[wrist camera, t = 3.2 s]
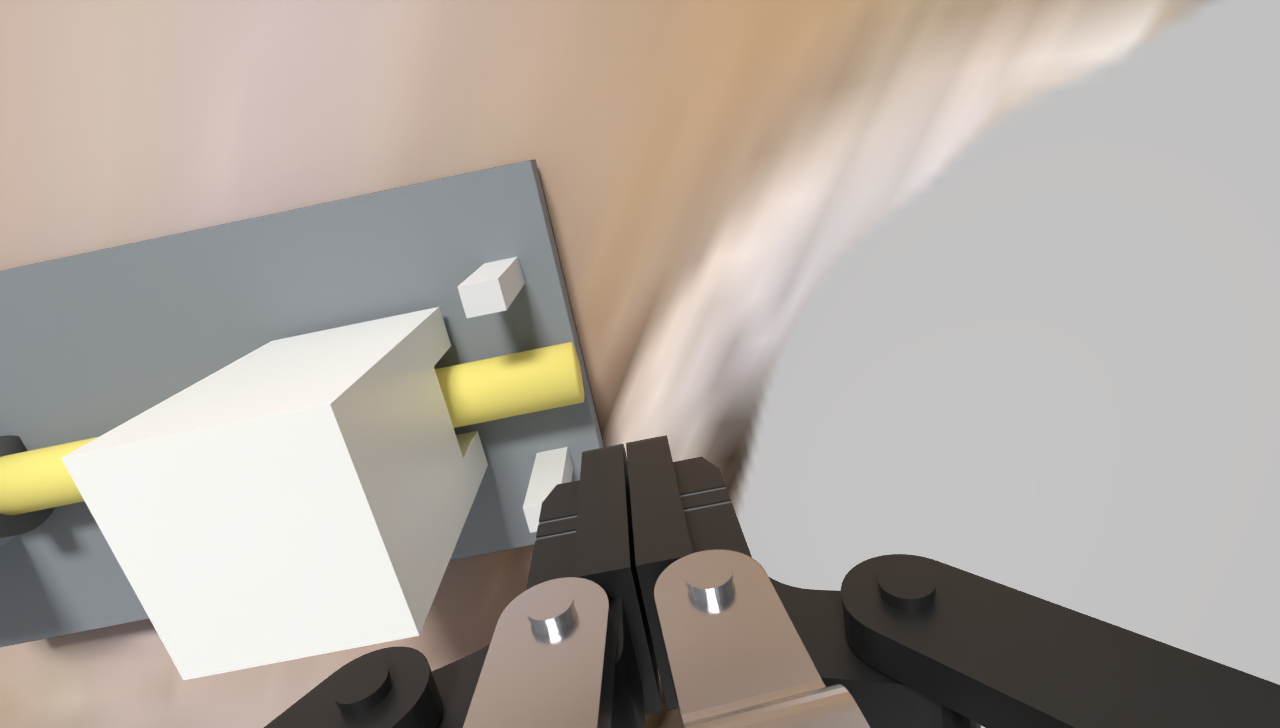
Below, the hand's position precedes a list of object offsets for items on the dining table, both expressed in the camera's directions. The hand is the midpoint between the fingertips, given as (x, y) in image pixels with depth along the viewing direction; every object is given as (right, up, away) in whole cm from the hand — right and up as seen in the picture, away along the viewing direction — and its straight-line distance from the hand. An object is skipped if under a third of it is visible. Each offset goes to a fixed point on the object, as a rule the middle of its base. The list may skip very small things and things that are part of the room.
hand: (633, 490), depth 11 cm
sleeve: (-8, +1, +8) cm, 11 cm away
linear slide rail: (-13, +1, +10) cm, 16 cm away
